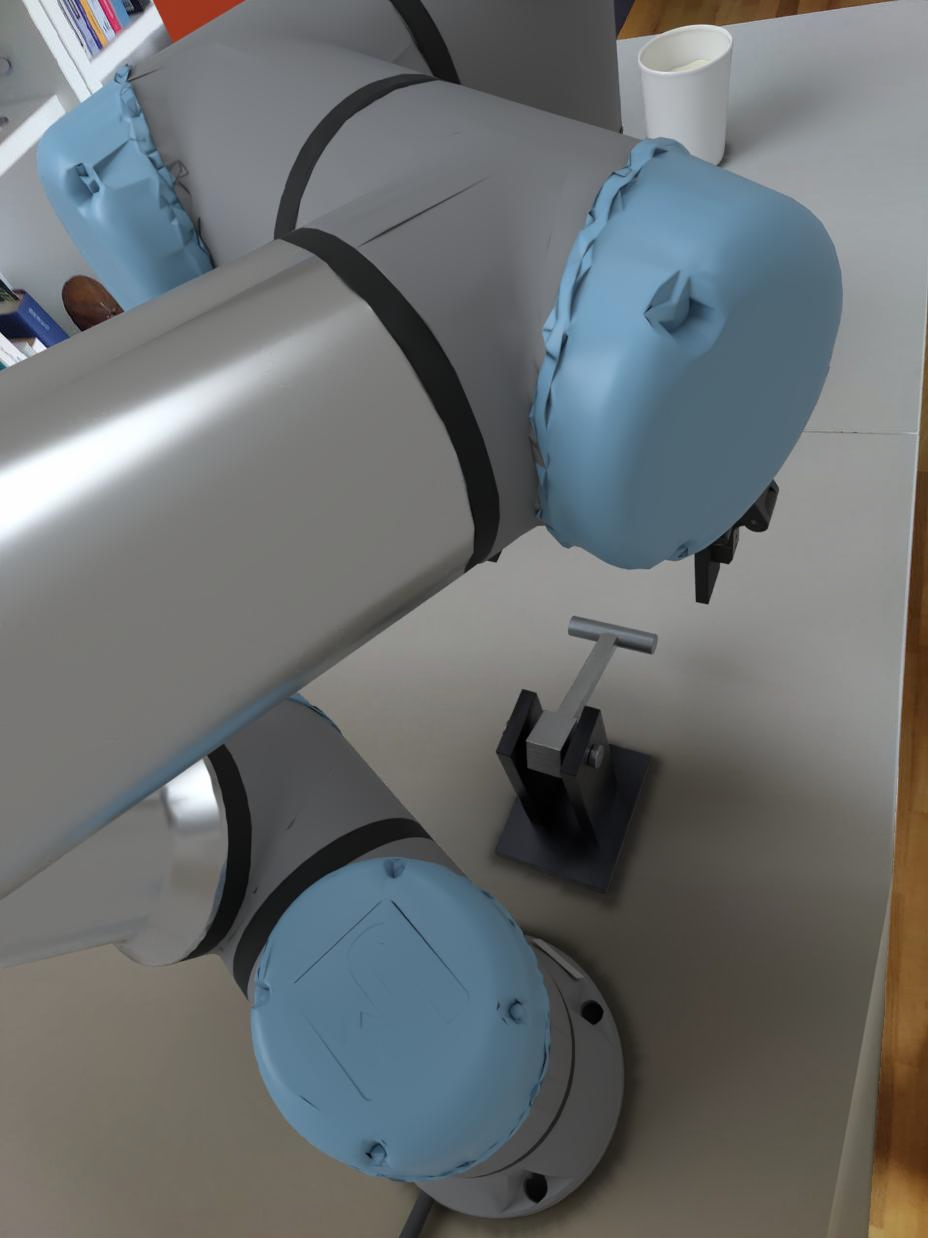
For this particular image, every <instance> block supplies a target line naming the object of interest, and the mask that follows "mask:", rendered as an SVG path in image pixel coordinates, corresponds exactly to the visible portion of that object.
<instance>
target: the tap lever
mask: <svg viewBox="0 0 928 1238" xmlns="http://www.w3.org/2000/svg"><path fill="white" fill-rule="evenodd" d="M567 634H568V636H570V637H574V638H578V639H582V640H586V641H591V642H595V644H594V646H593V648H592V650H591V652H590V653H589V655H588V656H587V658H586V661H585V663H583V665H582V667H581V669H580V671H579V673H578V674H577V676H576V678H575V680H574V682H573V683H572V685H571V687H570V689H569V690H568V692H567V694H566V695H565V696H564V699H563V700H562V703H561V704H560V706H559V708H558V709H557V711H556V712H554V711H549V710H546V709H543V712H542V714H541V715H540V717H539V719H538V721H537V722H536V724H535V726H534V727H533V729H532V731H531V733H530V734H529V736H528V738H527V739H526V751H527V767H528V768H529V769H533V770H536V771H539V772H542V773H546V774H549V775H552V776H555V777H559V778H562V777H561V775H560V772H559V771H560V768H561V766H562V763H563V760H564V758H565V755H566V752H567V750H568V747H569V745H570V742H571V739H572V737H573V734H574V732H575V729H576V726H577V724H578V721H579V718H580V716H581V713H582V711H583V708H584V706H585V705H586V706H587V704H588V702H589V700H590V698H591V697H592V695H593V692H594V691H595V689H596V687H597V685H598V684H599V681H600V679H602V677H603V674H604V672H605V671H606V669H607V666H608V665H609V663H610V661H611V659H612V657H613V655H614V653H615V652H616V650H617V648H621V649H625V650H628V651H629V650H630V651H634V652H637V653H641V654H646V655H650V656H653V655H654V654H655V652H656V649H657V647H658V641H659V635H658V634H657V633H654V632H649V631H644V630H640V629H636V628H632V627H627V626H622V625H618V624H613V623H610V622H609V623H608V622H606V621H605V622H604V621H600V620H596V619H592V618H587V617H582V616H578V615H572V617H571V618H570V619H569V623H568V626H567Z"/></svg>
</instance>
